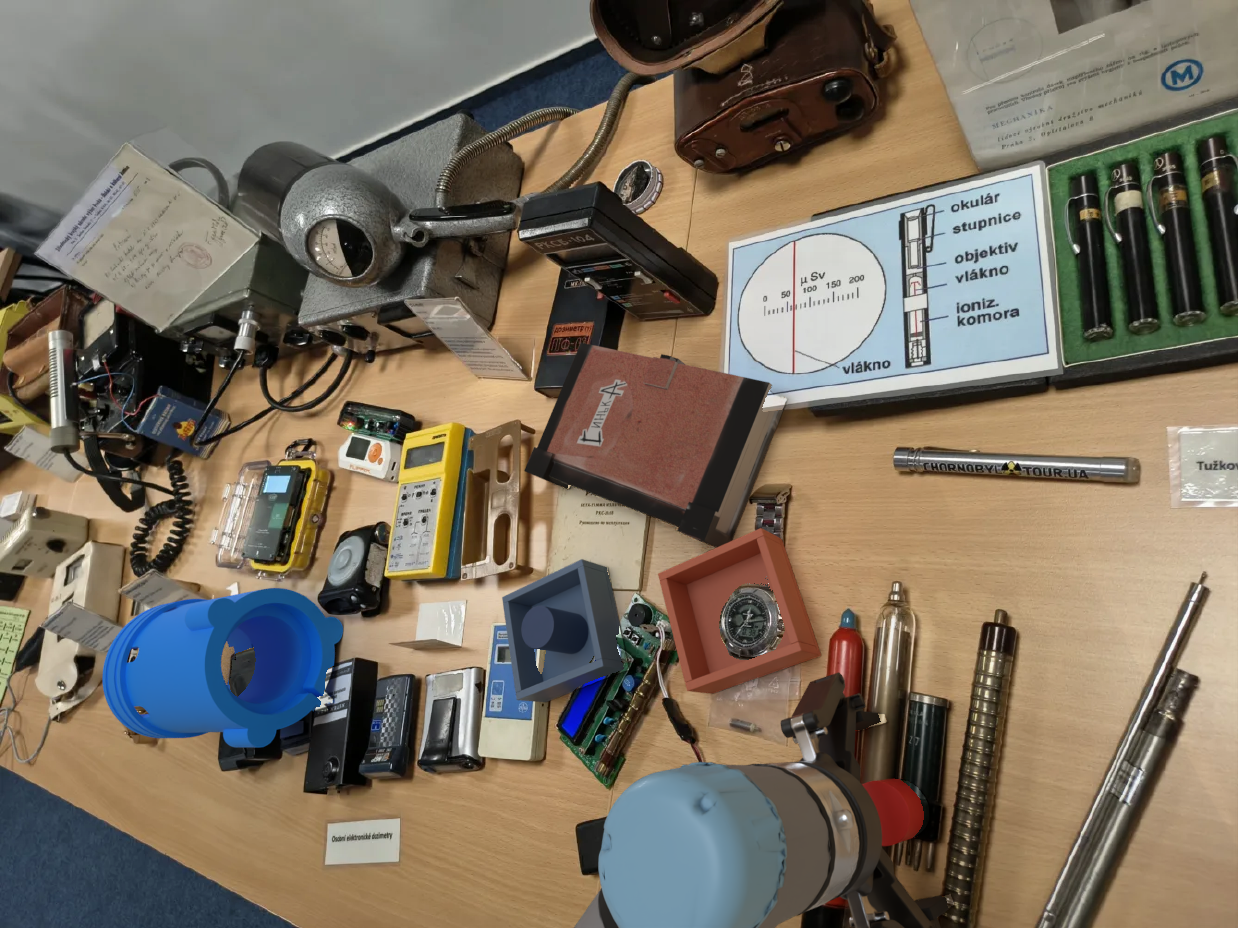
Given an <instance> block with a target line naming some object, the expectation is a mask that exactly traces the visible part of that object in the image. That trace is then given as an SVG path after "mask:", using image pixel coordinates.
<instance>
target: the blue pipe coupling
mask: <svg viewBox="0 0 1238 928" xmlns="http://www.w3.org/2000/svg"><path fill="white" fill-rule="evenodd" d="M343 634H344V626H343V623H342V621H341V620H340V619H339V618H338V617H336V616H325V615H324V613H323V612H322V610H321V609H320V608H319V606H318V605H316V603H315V602H313V601H312V600H311V599H310V598H308V597H307V596H305V595H304V594H301V592H297V591H295V590H293V589H288V588H284V587H283V588H282V587H267V588H262V589H257V590H251V591H247V592H246V591H245V592H242V593H237V594H231V595H227V596H221V597H216V598H211V599H205V598H187V599H183V600H182V599H181V600H178V601H173V602H168V603H163V604H159V605H155V606H153V607H151V608H148V609H147V610H144V611H142V612H141V613H139V614H137V615H135V617H134V618H132V619H131V620H130V621H129V622H127V623H126V624H125V625H124V626H123V627H122V628H121V630H120V631H119V632H118V633H117V635H116V636H115V637H114V639H113V641H112V642H111V644H110V646H109V648H108V650H107V653H106V656H105V659H104V662H103V668H102V680H101V681H102V689H103V695H104V698H105V701H106V703H107V706H108V707H109V710H110V711H111V713H112V714H113V716H114V717H115V718H116V719H117V720H118V721H119V722H120V723H121V724H122V725H123V726H124V727H125V728H127V729H128V730H130V731H132V732H133V733H136V734H138V735H140V736H144V737H148V738H152V739H153V738H154V739H190V738H195V737H200V736H202V735H205V734H208V733H222V737H223V740H224V742H225V744H227V745H228V746H229V747H232V748H264V747H266V746H268V745H270V744H271V743H272V742H273V740H274V739H275V737H276V734H277V730H281V729H285V728H287V727H290V726H292V725H294V724H296V723H297V722H299V721H301V720H302V719H303V718H305V717H306V716H307V715H308V714H310V713H311V711H312V712H314V710H315V708H316V707H320V705H321V701H320V700H319V699H318V698H317V697H319V696H323V694H324V690H325V678H326V672H327V670H328V668H330V667H332V666H335V657H336V656H335V655H336V652H335V651H336V650H335V649H336V648H335V645H336V644H337V643H339V642H340V641H341V639H342V637H343ZM226 643H227V646H228V648H233V653H234V655H235V654H236V653H238V652H242V651H244V650H247V649H249V648H253V647H254V651H255V658H256V662H255V670H254V674H253V676H252V679H251V681H250V683H249V684H248V686H247V687H246V689H245V690H244V691H243V692H242V693H241V694H240V695H239V696H238V697H237V696H235V695H234V694H233V693H232V692H231V690H230V685H229V679H228V680H227V682H226V680H225V678H224V675H223V669H222V658H223V652H224V649H225V645H226ZM134 649H135V650H136V649H137V650H138V652H137V655H136V657H135V659H134V660H133V661H129V662H128V658H129V656H130V653H131V650H134ZM136 707H141V708H143V709H144V710H145V711H146V713H144V714H143V713H142V714H140V713H139V711H138V710H137V709H136Z"/></svg>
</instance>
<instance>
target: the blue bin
mask: <svg viewBox="0 0 1238 928" xmlns="http://www.w3.org/2000/svg"><path fill="white" fill-rule="evenodd" d="M607 567H608V566H605V565H602V564H599V563H596V562H593V561H589V560H587V559H583V558H581V559H579V560H577V561H575V562H572V563H571V564H568V565H566V566H564V567H562V568H560V569H558V570H557V571H553V572H552V573H550V574H548V575H546V576H543V577H541V578H540V579H539V578H538V579H537V580H535V581H533V582H530V583H529V584H526V585H525V586H522V587H520V588H518V589H516V590H514V591H512V592H510V593H508V594H506V595H503V596H501V599H502V600H501V601H502V607H503V616H504V619H505V620H504V621H505V626H506V635H507V642H508V648H509V649H508V650H509V656H510V663H511V664H510V665H511V671H512V677H513V678H512V679H513V684H514V691H515V692H514V693H515V698H516V699H515V700H516V701H520V702H521V701H523V702H535V703H548V702H550V701H552V700H555V699H559V698H561V697H563V696H566V695H568V694H571V693H574V692H575V691H574V690H575V689H576V688H577V687H579V686H581V685H583V684H585V683H588V682H590V681H593V680H595V679H598V678H600V677H603V676H606V675H609V674H612V673H616V672H618V671H621V670H623V669H624V667H623V663H622V662H621V661H622V660H621V657H620V655H619V652H618V649H617V640H616V635H618V634H619V626H620V627H621V622H620V617H619V614H618V607H617V603H616V600H615V594H614V590H613V586H612V587H611V585H612V581H611V582H610V580H611V578H610V579H609V576H610V574H609V575H608V572H607ZM536 606H545V607H550V608H554V609H558V610H563V611H567V612H572V613H576V614H579V615H581V616H582V617H583V618H584V619H585V620H586V622H587V625H588V638H587V641H586V644H585V645H584V647H583V648H582V649H581V650H580V651H579V652H577V653H574V654H566V653H560V652H553V651H547V650H546V654H545V660H544V661H545V662H544V668H543V672H542V674H540V672H539V671H538V668H537V666H536V661H535V652H534V648H531V647H529V646H528V645H527V644H526V643H525V642H524V640H523V637H522V632H521V628H522V622H523V619H524V617H525V615H526V614H527V612H528V611H529V610H530V609H532V608H533V607H536ZM593 656H595V660H596V661H594V662H592V663H589V662H590V661H591V660H592V658H593ZM573 691H574V692H573Z"/></svg>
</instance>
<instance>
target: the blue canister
mask: <svg viewBox="0 0 1238 928" xmlns="http://www.w3.org/2000/svg"><path fill="white" fill-rule="evenodd" d="M521 632H522V637H523V640H524V642H525V643H526V644H527V645H528V646H529V647H531V648H534V649H540V650H547V651H553V652H560V653H566V654H574V653H577V652H579V651H580V650H581V649H582V648H583V647H584V645H585V644H586V641H587V638H588V625H587V622H586V620H585V619H584V618H583V617H582V616H581V615H579V614H576V613H572V612H567V611H563V610H558V609H554V608H550V607H545V606H536V607H533V608H532V609H530V610H529V611H528V612H527V614H526V615H525V617H524V619H523V622H522V628H521Z"/></svg>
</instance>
